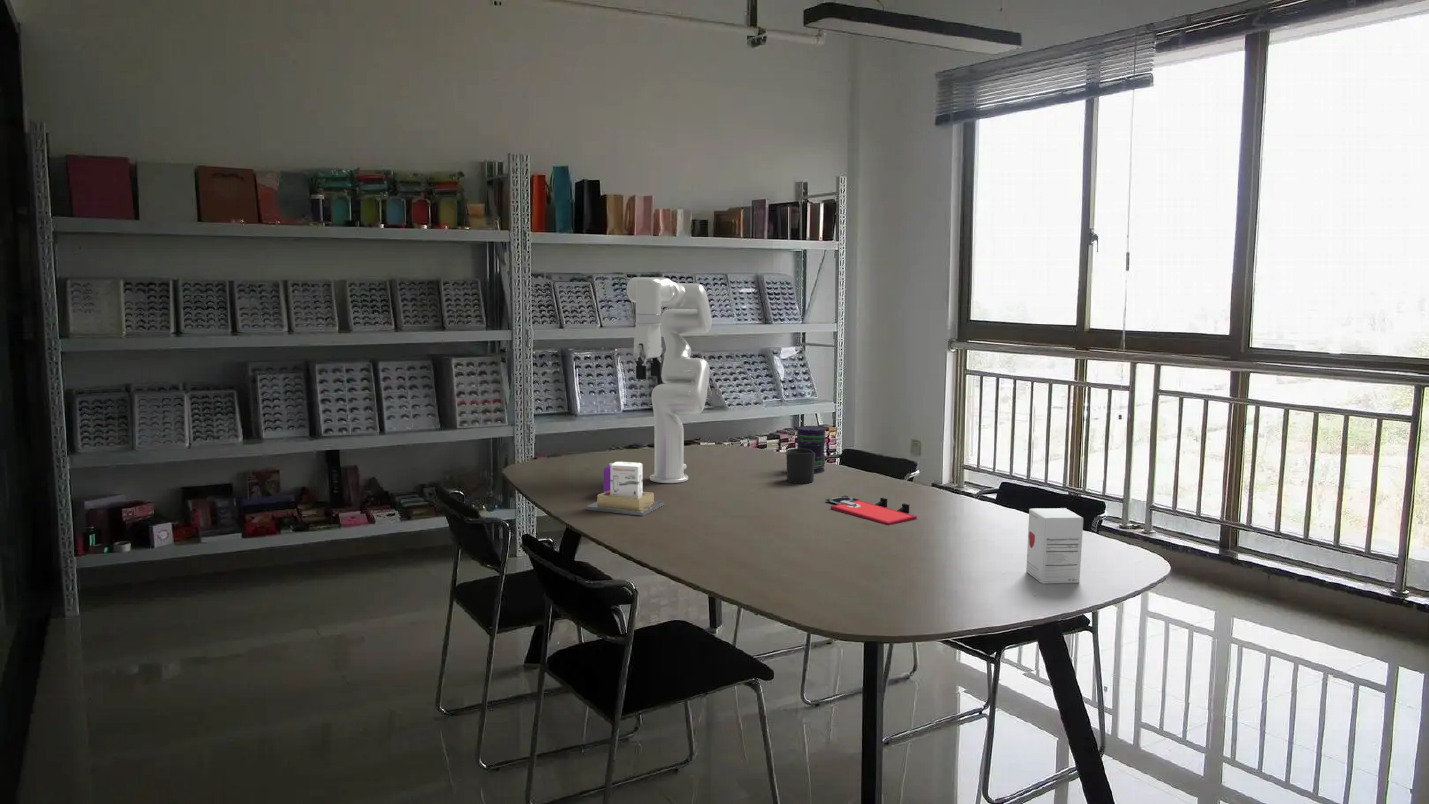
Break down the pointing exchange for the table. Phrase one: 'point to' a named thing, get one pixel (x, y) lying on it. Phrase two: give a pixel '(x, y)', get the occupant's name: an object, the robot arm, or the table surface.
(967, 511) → the table surface
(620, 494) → the ink box
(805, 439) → the storage jar
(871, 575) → the table surface
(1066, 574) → the supplement box
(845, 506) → the red board with handle
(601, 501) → the mount collar
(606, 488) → the toy camera
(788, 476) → the pen holder
